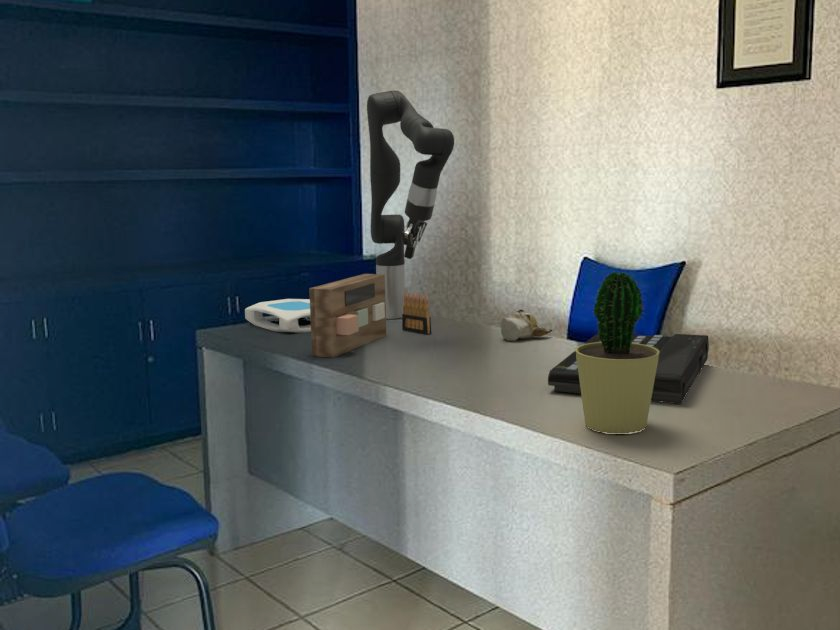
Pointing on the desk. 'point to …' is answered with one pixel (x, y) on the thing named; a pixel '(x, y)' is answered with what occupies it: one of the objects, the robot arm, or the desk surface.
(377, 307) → the cream key
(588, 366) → the potted cactus
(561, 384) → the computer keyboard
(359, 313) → the sage key
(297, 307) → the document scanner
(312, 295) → the keypad console
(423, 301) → the ammunition clip
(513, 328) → the ceramic sculpture
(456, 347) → the desk surface
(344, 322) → the terracotta key
